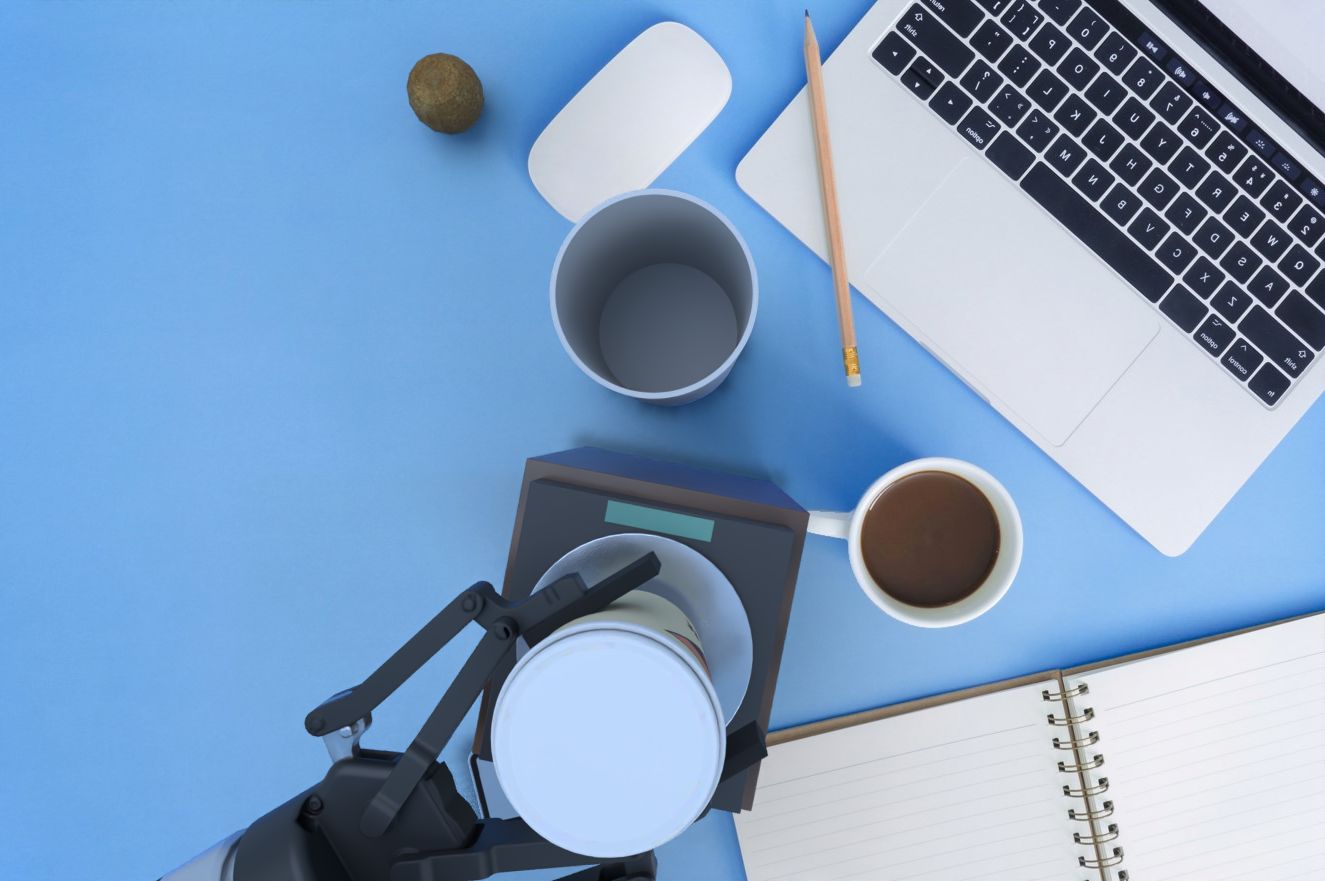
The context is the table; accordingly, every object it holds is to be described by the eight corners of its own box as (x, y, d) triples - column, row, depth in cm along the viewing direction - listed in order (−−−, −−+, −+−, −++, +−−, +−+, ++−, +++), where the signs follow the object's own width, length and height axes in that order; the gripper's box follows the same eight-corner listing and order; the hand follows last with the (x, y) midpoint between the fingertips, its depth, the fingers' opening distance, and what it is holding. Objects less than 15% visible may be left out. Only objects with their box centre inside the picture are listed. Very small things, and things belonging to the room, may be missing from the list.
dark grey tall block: (734, 681, 78) (751, 811, 52) (547, 643, 78) (471, 753, 52) (773, 482, 77) (810, 513, 51) (584, 446, 78) (526, 457, 52)
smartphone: (465, 751, 78) (627, 713, 77) (467, 747, 79) (628, 710, 78) (485, 831, 78) (648, 795, 77) (487, 827, 79) (649, 791, 78)
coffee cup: (718, 753, 46) (725, 871, 34) (540, 747, 46) (484, 862, 34) (721, 574, 46) (728, 629, 34) (542, 571, 46) (486, 624, 34)
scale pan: (727, 786, 49) (728, 791, 48) (498, 739, 49) (496, 743, 48) (772, 556, 48) (773, 558, 48) (541, 511, 49) (539, 512, 48)
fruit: (505, 93, 78) (482, 55, 70) (476, 158, 78) (451, 128, 70) (441, 65, 78) (412, 24, 70) (413, 130, 78) (380, 96, 70)
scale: (738, 792, 52) (740, 815, 49) (490, 740, 52) (477, 760, 49) (790, 526, 51) (795, 533, 48) (539, 477, 52) (529, 481, 49)
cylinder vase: (755, 386, 77) (781, 369, 52) (617, 421, 78) (578, 420, 53) (720, 248, 77) (729, 164, 52) (583, 284, 78) (527, 218, 53)
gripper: (210, 676, 44) (595, 443, 43) (428, 1040, 44) (820, 815, 43) (110, 729, 37) (573, 448, 35) (373, 1167, 36) (845, 899, 35)
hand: (708, 649), depth 39 cm, fingers closed on coffee cup, 8 cm apart
